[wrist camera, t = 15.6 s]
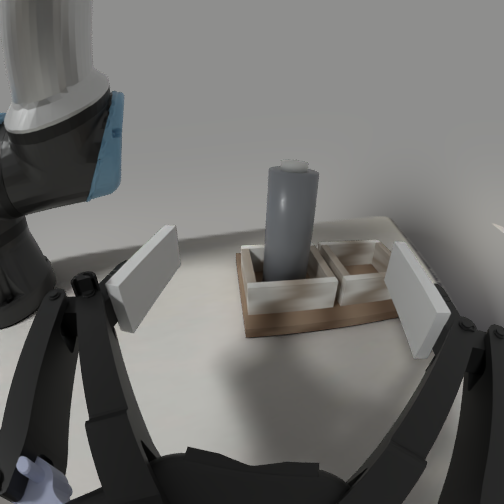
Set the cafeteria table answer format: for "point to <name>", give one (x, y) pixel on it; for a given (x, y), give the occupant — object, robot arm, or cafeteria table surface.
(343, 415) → the cafeteria table surface
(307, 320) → the socket board
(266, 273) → the plug
